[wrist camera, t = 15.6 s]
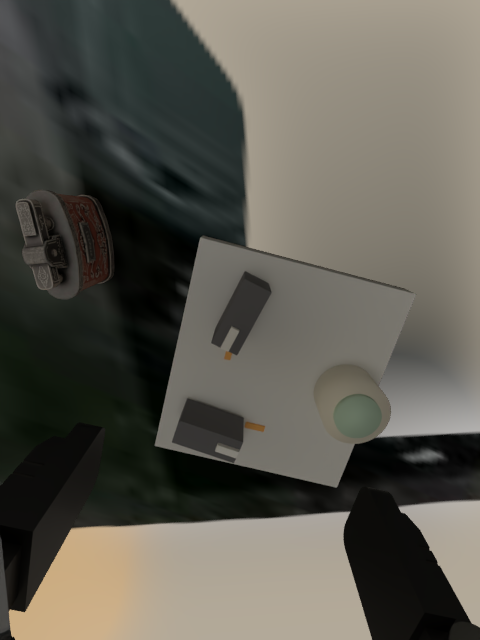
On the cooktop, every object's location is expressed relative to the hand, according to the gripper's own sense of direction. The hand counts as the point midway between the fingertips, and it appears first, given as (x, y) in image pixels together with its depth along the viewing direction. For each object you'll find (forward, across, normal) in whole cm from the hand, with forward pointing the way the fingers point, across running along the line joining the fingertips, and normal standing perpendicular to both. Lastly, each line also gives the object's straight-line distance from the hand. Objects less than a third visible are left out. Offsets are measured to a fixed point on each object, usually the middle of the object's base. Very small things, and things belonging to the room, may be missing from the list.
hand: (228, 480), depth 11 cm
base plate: (+25, -5, +6) cm, 26 cm away
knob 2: (+22, 0, 0) cm, 22 cm away
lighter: (+25, +15, -2) cm, 29 cm away
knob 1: (+22, 0, +12) cm, 25 cm away
